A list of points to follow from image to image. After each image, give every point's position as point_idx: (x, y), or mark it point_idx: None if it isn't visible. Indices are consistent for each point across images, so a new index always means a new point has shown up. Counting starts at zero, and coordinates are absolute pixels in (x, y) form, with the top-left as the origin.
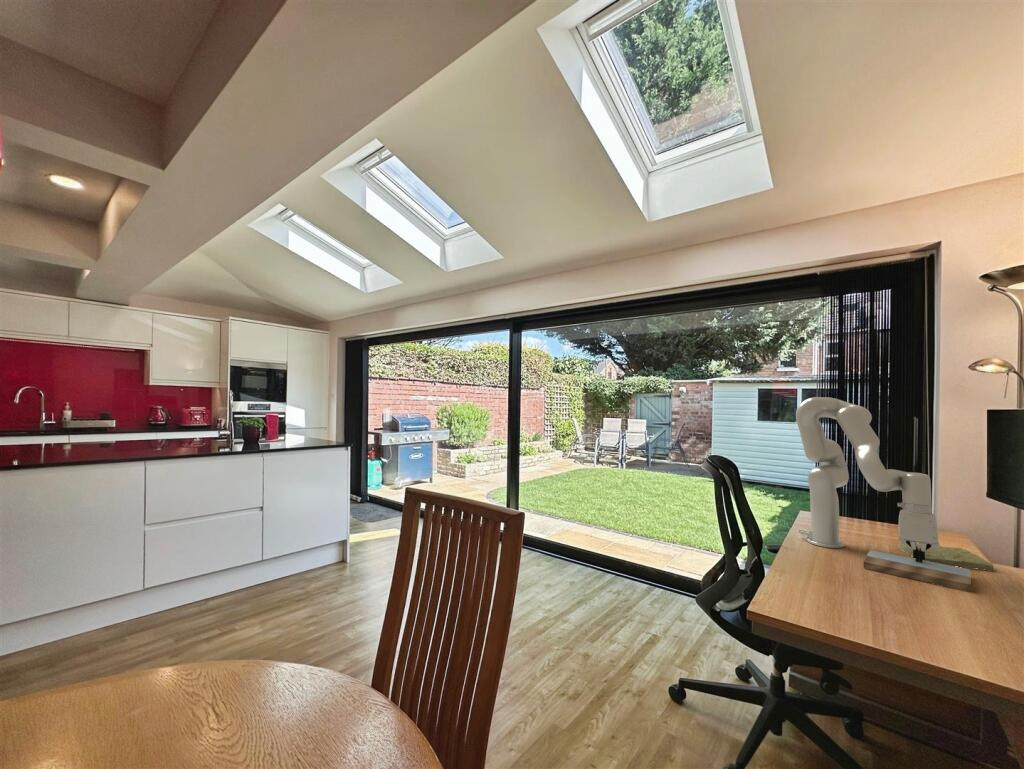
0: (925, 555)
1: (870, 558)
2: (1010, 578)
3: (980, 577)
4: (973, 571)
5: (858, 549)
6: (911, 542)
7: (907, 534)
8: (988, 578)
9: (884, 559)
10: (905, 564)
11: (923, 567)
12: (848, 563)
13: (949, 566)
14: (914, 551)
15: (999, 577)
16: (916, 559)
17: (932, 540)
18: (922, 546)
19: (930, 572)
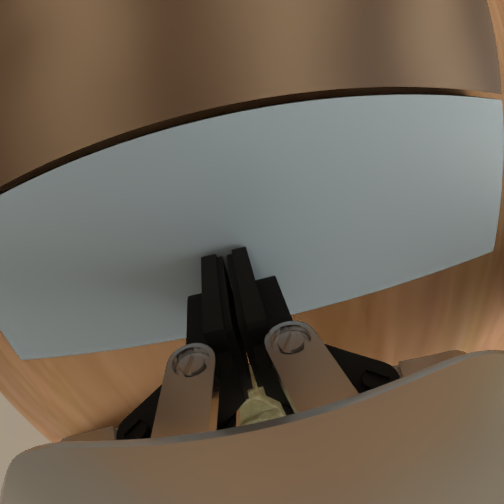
0: (251, 419)
1: (481, 45)
2: (25, 411)
3: (34, 361)
4: (92, 409)
5: (483, 300)
6: (340, 395)
7: (478, 474)
8: (24, 369)
9: (431, 95)
10: (289, 78)
11: (152, 134)
12: (498, 3)
13: (75, 335)
14: (277, 320)
15: (32, 402)
16: (243, 255)
17: (26, 496)
18: (196, 396)
19: (73, 35)
